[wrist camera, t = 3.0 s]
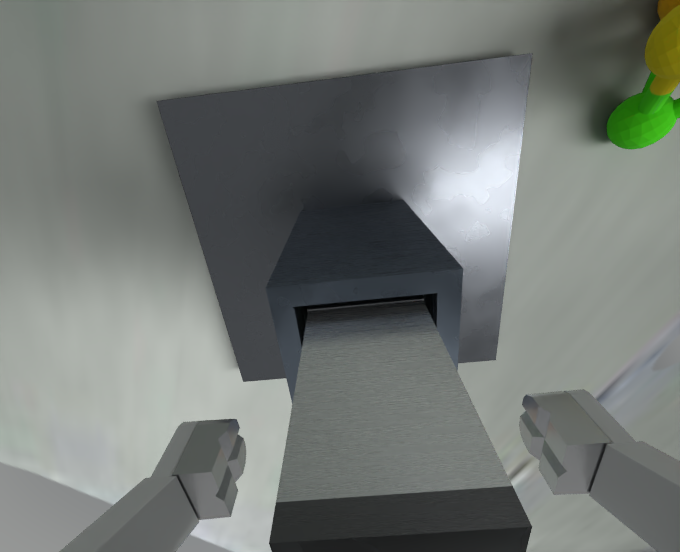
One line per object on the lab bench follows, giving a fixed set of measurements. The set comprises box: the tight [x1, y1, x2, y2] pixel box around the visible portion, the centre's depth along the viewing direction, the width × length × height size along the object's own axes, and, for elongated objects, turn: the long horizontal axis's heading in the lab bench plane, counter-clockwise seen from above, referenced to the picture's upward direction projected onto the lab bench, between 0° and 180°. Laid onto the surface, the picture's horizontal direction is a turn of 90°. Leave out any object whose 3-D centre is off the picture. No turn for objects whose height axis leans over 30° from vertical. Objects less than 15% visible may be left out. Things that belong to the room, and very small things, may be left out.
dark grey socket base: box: [157, 53, 532, 404], centre depth 17 cm, size 20×20×12 cm
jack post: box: [269, 295, 532, 552], centre depth 13 cm, size 4×4×17 cm
